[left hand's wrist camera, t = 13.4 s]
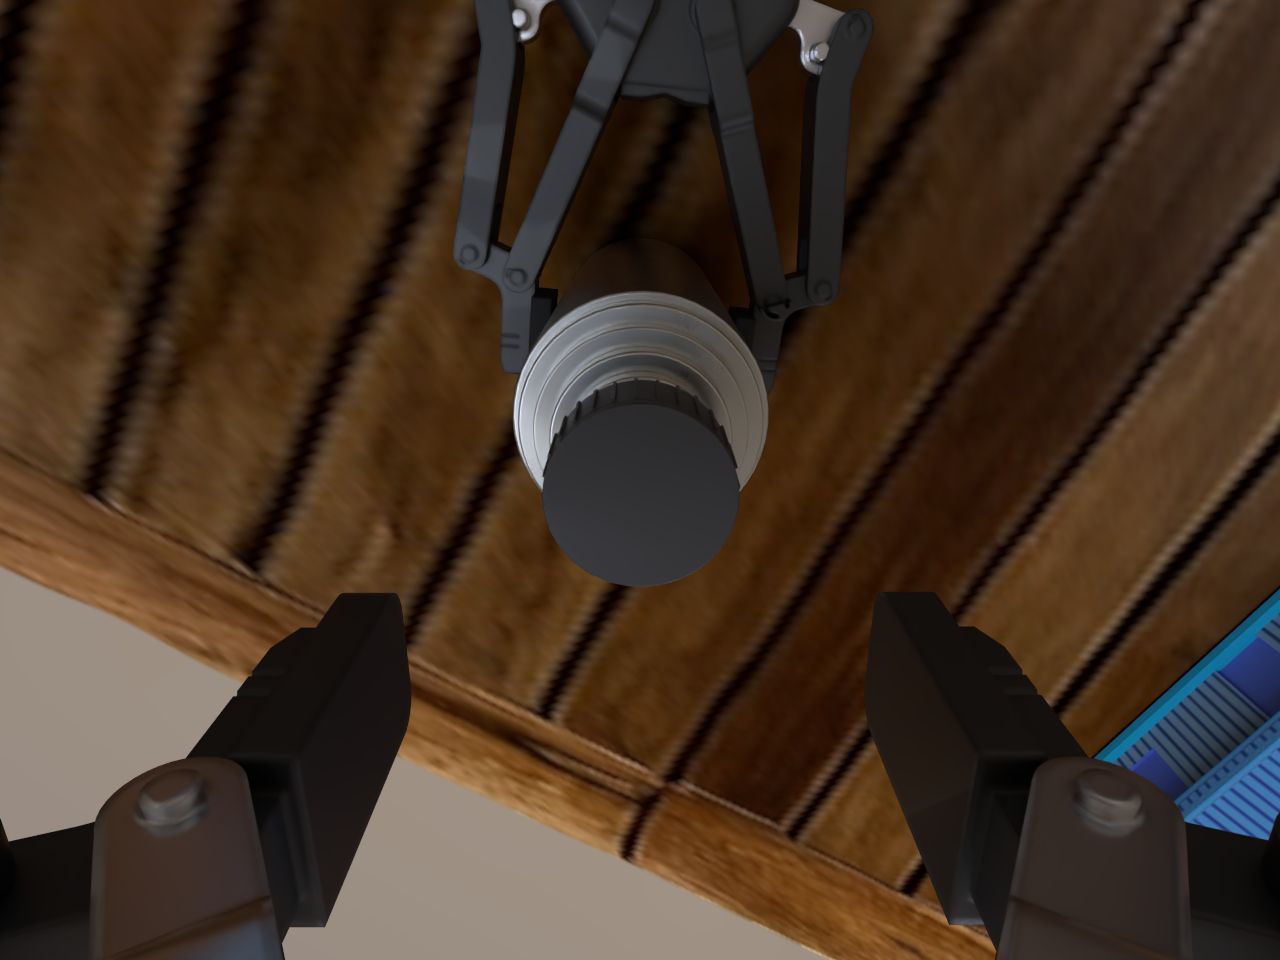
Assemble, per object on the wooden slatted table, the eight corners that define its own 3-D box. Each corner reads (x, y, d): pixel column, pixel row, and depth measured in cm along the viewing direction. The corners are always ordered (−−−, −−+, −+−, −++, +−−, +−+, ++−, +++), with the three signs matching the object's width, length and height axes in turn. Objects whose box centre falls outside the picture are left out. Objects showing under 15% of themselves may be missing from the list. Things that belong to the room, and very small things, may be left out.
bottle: (688, 405, 40) (742, 667, 19) (548, 365, 39) (445, 590, 18) (735, 263, 38) (855, 383, 17) (587, 217, 37) (519, 283, 16)
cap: (699, 568, 20) (705, 609, 18) (530, 522, 20) (518, 561, 18) (757, 406, 19) (770, 434, 17) (576, 354, 18) (568, 376, 16)
